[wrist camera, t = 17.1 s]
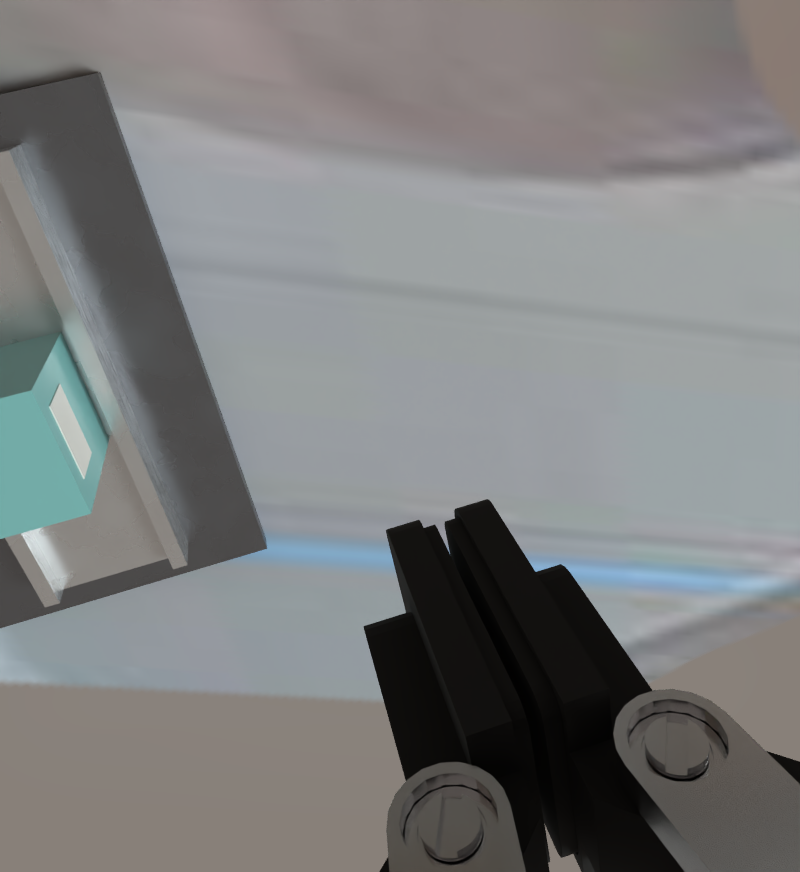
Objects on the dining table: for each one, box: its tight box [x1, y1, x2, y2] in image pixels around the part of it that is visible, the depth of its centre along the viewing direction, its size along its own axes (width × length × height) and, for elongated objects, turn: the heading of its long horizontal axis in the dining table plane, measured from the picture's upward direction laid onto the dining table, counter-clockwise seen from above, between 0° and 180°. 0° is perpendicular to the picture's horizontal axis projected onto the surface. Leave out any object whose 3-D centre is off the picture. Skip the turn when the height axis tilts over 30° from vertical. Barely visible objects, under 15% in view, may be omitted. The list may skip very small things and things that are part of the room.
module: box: [0, 332, 109, 539], centre depth 33 cm, size 6×5×7 cm
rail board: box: [0, 72, 267, 628], centre depth 36 cm, size 26×16×3 cm, turn 11°
